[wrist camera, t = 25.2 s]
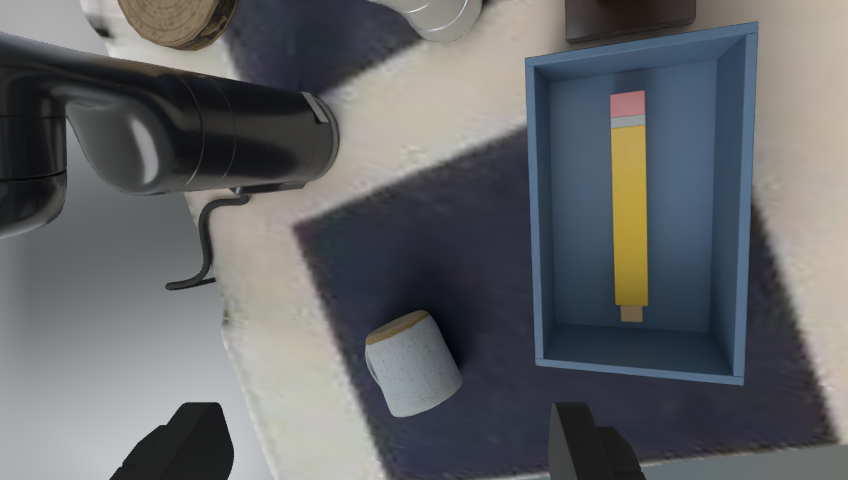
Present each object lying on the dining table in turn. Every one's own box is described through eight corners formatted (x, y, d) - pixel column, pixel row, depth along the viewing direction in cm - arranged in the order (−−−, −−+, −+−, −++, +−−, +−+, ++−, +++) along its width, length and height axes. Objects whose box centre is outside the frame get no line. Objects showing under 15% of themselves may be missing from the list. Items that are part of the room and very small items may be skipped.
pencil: (646, 314, 38) (648, 324, 36) (615, 313, 39) (615, 323, 37) (643, 93, 36) (645, 89, 33) (609, 98, 37) (609, 94, 34)
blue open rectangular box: (715, 336, 37) (743, 385, 29) (550, 325, 42) (535, 365, 34) (724, 52, 34) (758, 20, 26) (542, 77, 39) (524, 57, 31)
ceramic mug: (437, 297, 46) (405, 323, 39) (473, 370, 46) (447, 409, 39) (360, 331, 51) (318, 359, 44) (392, 397, 51) (356, 436, 44)
